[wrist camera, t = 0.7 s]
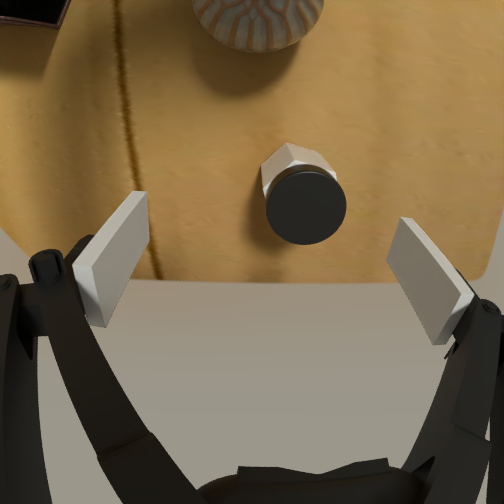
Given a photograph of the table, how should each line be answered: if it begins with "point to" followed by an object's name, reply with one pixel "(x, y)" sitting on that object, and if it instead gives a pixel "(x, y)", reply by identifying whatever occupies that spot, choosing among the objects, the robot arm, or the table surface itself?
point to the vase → (257, 22)
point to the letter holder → (33, 12)
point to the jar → (302, 195)
